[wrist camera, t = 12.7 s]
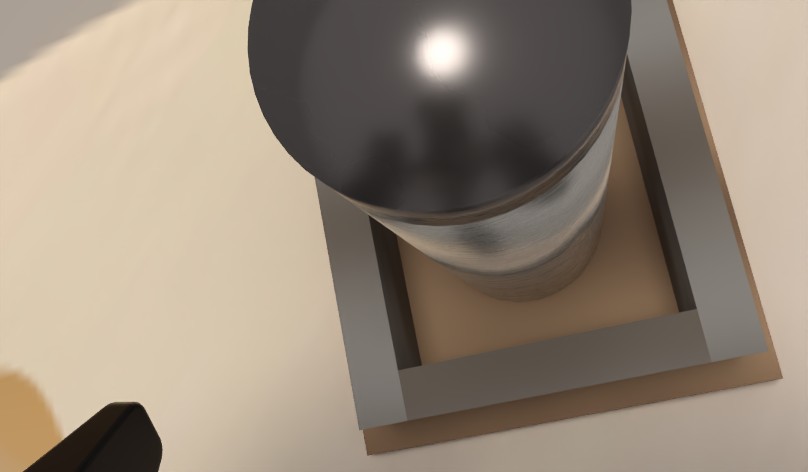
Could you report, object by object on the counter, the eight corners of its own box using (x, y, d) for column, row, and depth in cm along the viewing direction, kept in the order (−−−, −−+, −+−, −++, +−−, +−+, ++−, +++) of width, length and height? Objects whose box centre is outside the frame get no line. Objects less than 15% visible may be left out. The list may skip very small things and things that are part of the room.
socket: (777, 377, 20) (818, 380, 16) (373, 453, 22) (333, 470, 18) (666, -4, 22) (682, -72, 19) (309, 96, 24) (263, 51, 21)
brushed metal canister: (559, 329, 21) (527, 275, 8) (412, 261, 22) (187, 123, 9) (628, 178, 21) (699, -98, 8) (478, 120, 22) (346, -199, 10)
